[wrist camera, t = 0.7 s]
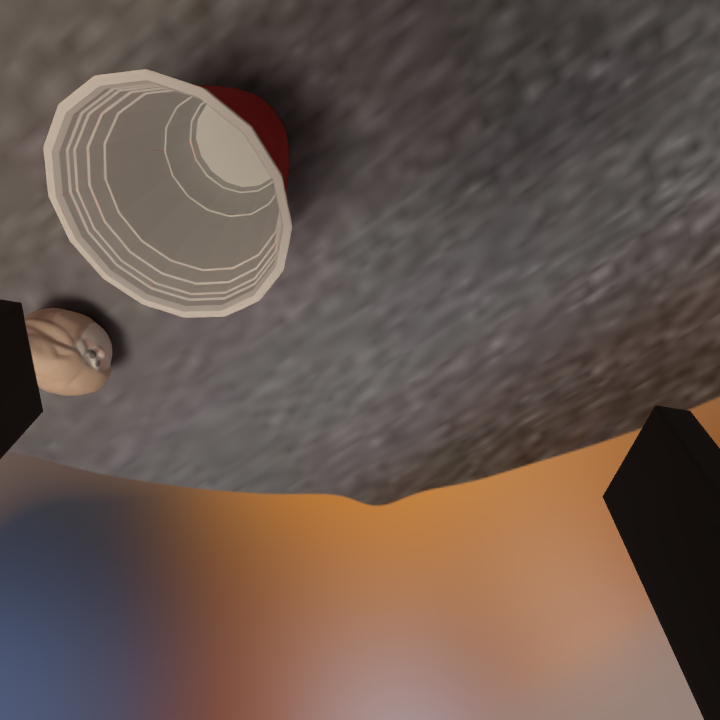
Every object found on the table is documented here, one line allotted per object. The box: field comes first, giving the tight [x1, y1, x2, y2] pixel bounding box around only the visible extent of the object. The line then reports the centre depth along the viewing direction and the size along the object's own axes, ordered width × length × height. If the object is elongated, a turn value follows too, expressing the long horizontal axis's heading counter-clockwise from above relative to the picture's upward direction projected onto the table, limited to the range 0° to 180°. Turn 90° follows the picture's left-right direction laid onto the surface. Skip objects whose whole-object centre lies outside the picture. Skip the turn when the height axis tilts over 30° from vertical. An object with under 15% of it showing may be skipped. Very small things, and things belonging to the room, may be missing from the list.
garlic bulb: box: [24, 308, 112, 396], centre depth 38 cm, size 7×6×8 cm
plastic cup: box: [43, 69, 292, 318], centre depth 27 cm, size 11×11×12 cm
